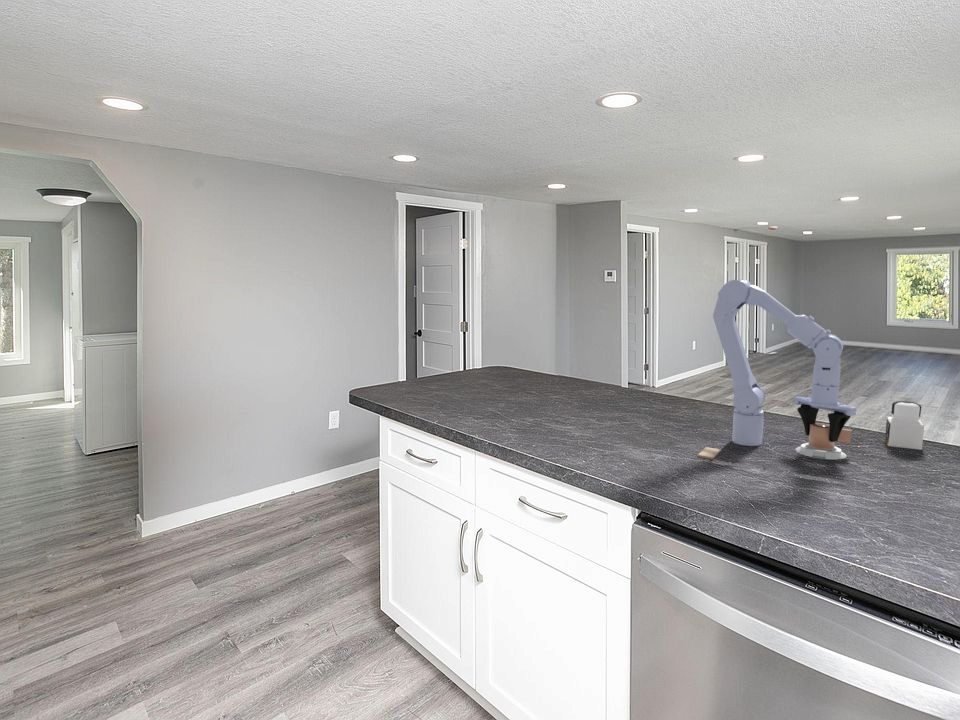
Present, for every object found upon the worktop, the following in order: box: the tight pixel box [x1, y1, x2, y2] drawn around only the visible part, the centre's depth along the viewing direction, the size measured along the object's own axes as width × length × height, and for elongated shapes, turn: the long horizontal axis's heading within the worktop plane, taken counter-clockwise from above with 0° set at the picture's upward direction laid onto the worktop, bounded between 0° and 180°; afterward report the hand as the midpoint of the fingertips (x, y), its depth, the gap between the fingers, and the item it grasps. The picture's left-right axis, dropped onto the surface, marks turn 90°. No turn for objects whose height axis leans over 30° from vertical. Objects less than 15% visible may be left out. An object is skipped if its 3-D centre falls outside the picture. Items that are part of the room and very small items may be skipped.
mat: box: [697, 446, 731, 463], centre depth 143 cm, size 8×8×1 cm
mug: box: [808, 422, 853, 449], centre depth 141 cm, size 9×6×5 cm, turn 63°
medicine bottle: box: [884, 400, 925, 451], centre depth 147 cm, size 7×7×12 cm
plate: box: [795, 442, 847, 460], centre depth 142 cm, size 11×11×2 cm
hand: (821, 438), depth 141 cm, fingers closed on mug, 6 cm apart
